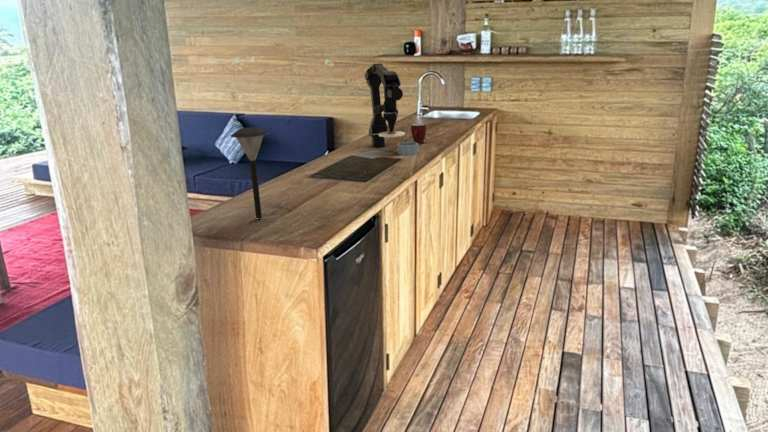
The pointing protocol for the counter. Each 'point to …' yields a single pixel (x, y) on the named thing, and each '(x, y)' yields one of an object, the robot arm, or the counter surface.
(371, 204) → the counter surface
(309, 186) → the counter surface
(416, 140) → the mug
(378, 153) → the mat
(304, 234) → the counter surface
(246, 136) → the solar garden light
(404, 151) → the bowl
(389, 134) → the lid
